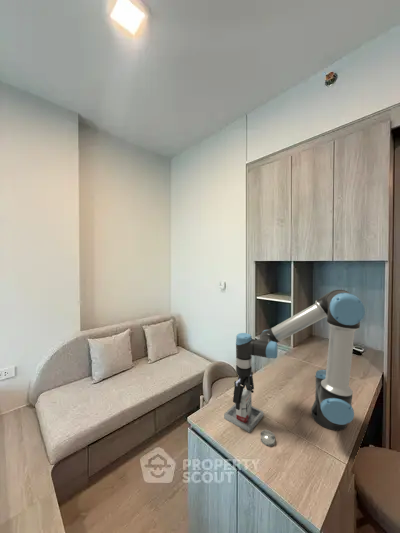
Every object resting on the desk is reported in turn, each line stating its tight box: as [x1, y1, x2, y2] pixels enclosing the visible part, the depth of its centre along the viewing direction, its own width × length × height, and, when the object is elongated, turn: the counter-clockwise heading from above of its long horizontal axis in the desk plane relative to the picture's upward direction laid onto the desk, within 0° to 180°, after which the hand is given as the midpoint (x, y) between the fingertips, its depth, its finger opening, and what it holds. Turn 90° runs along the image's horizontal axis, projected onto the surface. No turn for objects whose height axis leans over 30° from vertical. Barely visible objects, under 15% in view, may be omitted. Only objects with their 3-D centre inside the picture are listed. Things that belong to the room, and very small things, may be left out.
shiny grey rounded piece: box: [260, 429, 276, 447], centre depth 97 cm, size 6×6×2 cm
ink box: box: [236, 388, 252, 423], centre depth 111 cm, size 8×5×12 cm, turn 147°
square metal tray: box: [223, 403, 264, 434], centre depth 111 cm, size 14×14×2 cm
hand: (244, 409), depth 111 cm, fingers closed on ink box, 9 cm apart
